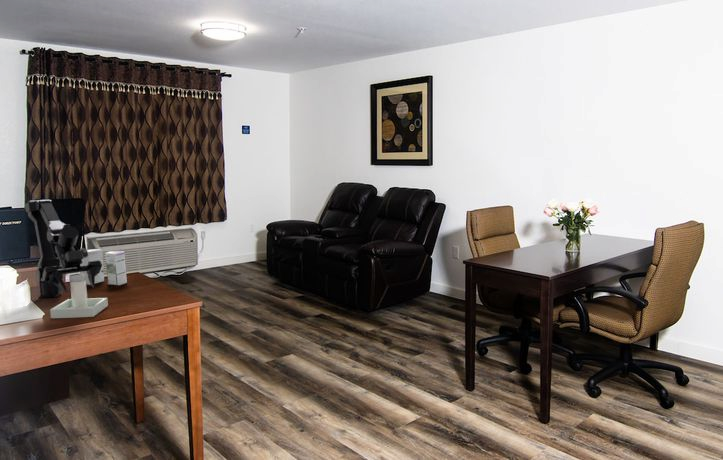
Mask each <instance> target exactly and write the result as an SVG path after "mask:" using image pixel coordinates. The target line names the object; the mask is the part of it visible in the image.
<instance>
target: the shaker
mask: <svg viewBox="0 0 723 460" xmlns="http://www.w3.org/2000/svg"><path fill="white" fill-rule="evenodd" d="M68 275H69V276H68V279H69V285H70V295H71V298H70V299H72V308H88V300H87V298H88V292H87V291H88V290H87V285H86V274H84V273H80V272H78V273H71V274H68Z"/></svg>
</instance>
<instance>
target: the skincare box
mask: <svg viewBox="0 0 723 460" xmlns="http://www.w3.org/2000/svg"><path fill="white" fill-rule="evenodd" d="M87 252H88V256H87V257H85V258H83V259H82V264H80V266H87V265H88V262H89V261H95V260H99V261H101V263H102V267H101V270H100V273H99V274H97V275H96V276H95V284H98V283H102V282H105V274H104V260H103V259H104V258H103V249H99V248H98V249H94V248H93V249H87ZM79 273H84V274H86V286H91V284H90V281H89V278H88V274H87V271H85V272H79Z"/></svg>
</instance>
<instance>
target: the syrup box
mask: <svg viewBox="0 0 723 460" xmlns="http://www.w3.org/2000/svg"><path fill="white" fill-rule="evenodd" d="M104 253H105V263H106V275H107V279H106V280H107V285H111V286H121V285H125V284H127V282H128V280H127V269H126V256H125V255H126V254H125V251H124V250H123V251H121V250H110V251H107V252H104Z"/></svg>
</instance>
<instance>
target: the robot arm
mask: <svg viewBox="0 0 723 460" xmlns="http://www.w3.org/2000/svg"><path fill="white" fill-rule="evenodd" d="M53 205H54V204H53V200H51V199H38V200H37V199H36V200H32V199H31V200H28V201H27V203H25V205H24V209H25V212H26V213H27V217H28V218H29V219H30V220H31V221H32V222H33V223H34V229H35V232H36V233H35V234H36V238H37V246H38V250H39V256H40V258H39V261H38V263H37V268H36V272H35V275H34V279H35V282H36V283H37V284H39V292H40V294H39V295H38V298H40V299H41V298H56V297H58V296H60V295H61V294H63V293H67V292H68V290H67V286H66V285H65V282H64V280H63V276H64V275H67V274H68V275H72V274H79V273H80V272H85V271H87V274H88V278H89V281H90V284H91V285H90V286H91V287H92V288H95V286H96V285H95V284H96V283H95V276H96V275H97V274H99V273H100V270H101V267H102V263H101V261H99V260H95V261H89V262H88V265H87V266H80V264H82V259H83V258H85V257H87V256H88V252H87V250H88V249H87V248H86V247H84V248H80V249H76V250H75V248H74V246H76V245H77V242H78V237H79V235H80V231H79V230H78V229H77V228H76V227H75V226H71V224H69V223H67V224H66V223H64V222H62V221H61V220H60V218H59V216H58V214H57V211H56V210H55V208H54V206H53ZM52 244H55V246H54V249H55V254H57V257H56V256H55V255H54V249H53V245H52Z"/></svg>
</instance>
